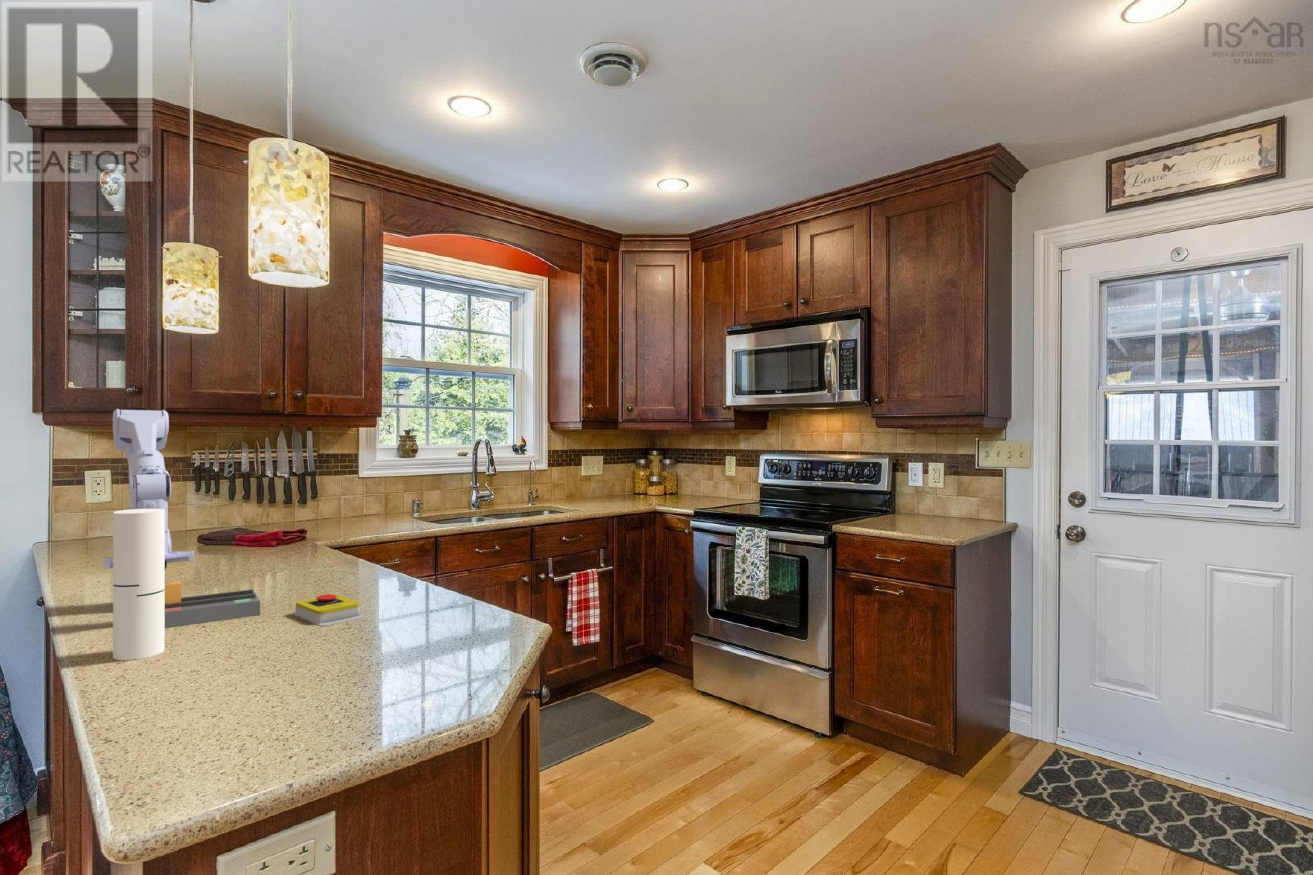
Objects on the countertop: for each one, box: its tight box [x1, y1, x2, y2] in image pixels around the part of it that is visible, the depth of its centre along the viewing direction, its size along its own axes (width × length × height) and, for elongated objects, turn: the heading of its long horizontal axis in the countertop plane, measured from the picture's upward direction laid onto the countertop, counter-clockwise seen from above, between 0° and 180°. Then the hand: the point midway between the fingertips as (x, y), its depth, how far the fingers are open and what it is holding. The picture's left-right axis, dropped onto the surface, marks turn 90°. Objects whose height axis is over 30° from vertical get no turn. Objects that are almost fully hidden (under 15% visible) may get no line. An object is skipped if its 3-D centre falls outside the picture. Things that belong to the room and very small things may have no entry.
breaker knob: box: [165, 580, 182, 604], centre depth 138 cm, size 3×3×4 cm
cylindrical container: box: [112, 509, 166, 661], centre depth 117 cm, size 7×7×25 cm
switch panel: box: [165, 588, 261, 629], centre depth 141 cm, size 12×18×4 cm, turn 127°
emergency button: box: [292, 593, 366, 627], centre depth 142 cm, size 9×4×15 cm
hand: (150, 600), depth 135 cm, fingers closed
